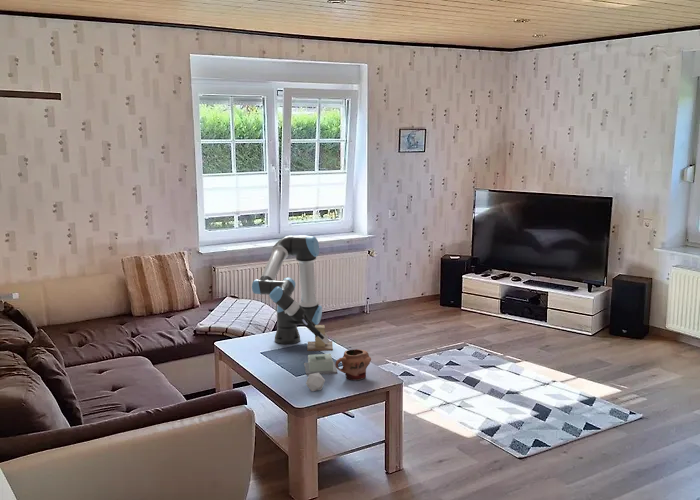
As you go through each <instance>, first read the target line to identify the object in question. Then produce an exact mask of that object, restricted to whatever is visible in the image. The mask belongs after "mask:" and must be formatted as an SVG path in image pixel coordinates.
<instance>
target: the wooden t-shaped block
mask: <svg viewBox="0 0 700 500" xmlns="http://www.w3.org/2000/svg"><path fill="white" fill-rule="evenodd" d="M315 328H316V329H317V330H318V331H320V332H321V333H322V334H323V335H324V336H325V334H326V331H325V328H326V327H325V324H318V325H315ZM333 345H334V344H333V341H332V340H330V341H329V342H328V343H327V344H325V343H324V342H323V341H322V340H321V339H320V338H319V337H315V336H314V341H307V346H306V347H307V349H306V351H307V352H333V351H334V348H333V347H334V346H333Z"/></svg>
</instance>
